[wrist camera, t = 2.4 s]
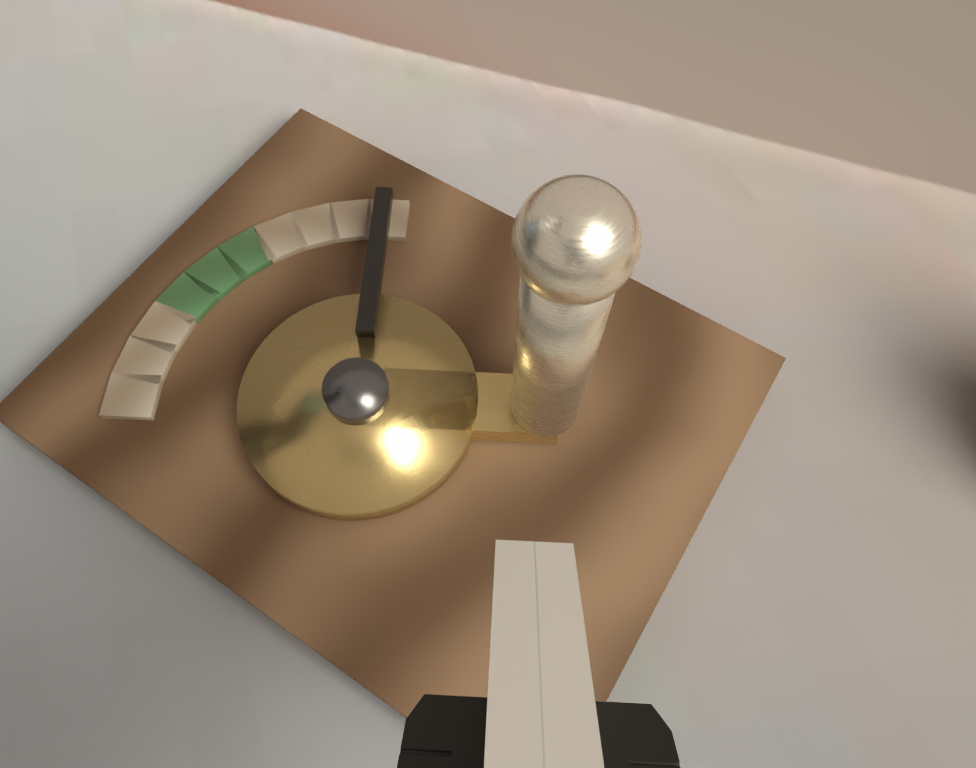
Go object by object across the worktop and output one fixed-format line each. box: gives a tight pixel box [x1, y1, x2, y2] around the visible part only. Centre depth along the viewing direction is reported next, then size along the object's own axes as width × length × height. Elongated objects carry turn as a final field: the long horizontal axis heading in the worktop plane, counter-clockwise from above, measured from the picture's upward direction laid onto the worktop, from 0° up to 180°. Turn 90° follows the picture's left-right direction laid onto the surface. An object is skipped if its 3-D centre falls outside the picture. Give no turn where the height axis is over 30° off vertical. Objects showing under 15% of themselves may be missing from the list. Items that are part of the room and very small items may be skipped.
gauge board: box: [0, 109, 786, 718], centre depth 29 cm, size 25×19×2 cm
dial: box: [237, 175, 641, 521], centre depth 23 cm, size 13×13×13 cm
